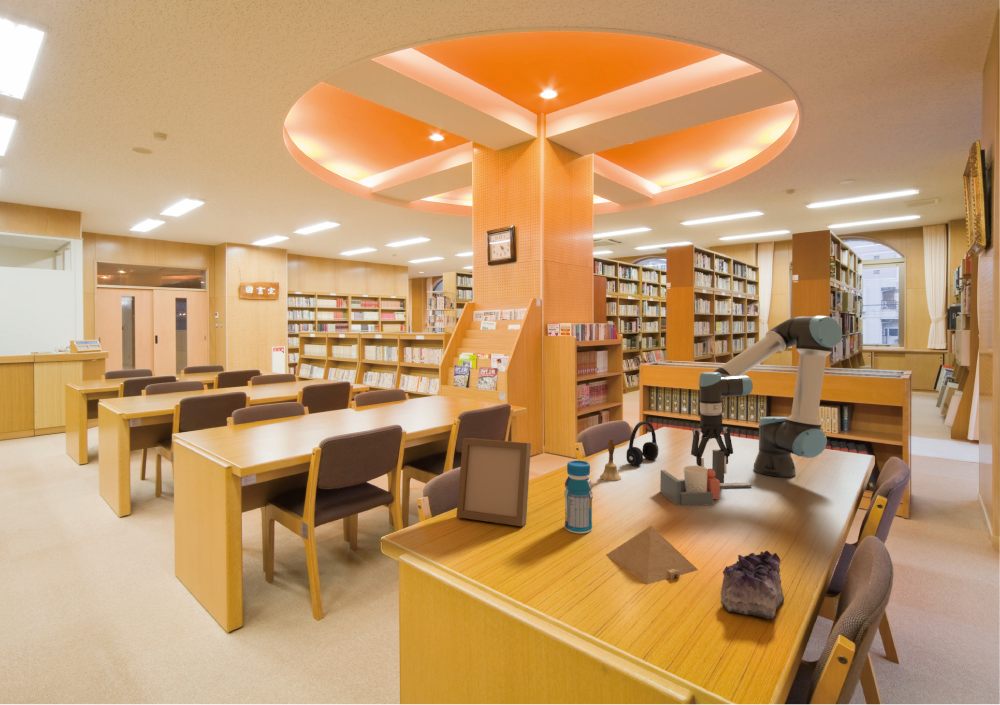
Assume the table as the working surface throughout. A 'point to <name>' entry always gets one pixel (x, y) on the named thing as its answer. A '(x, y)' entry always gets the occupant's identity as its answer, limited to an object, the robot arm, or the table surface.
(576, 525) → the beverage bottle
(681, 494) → the frame
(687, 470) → the white cup
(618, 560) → the model pyramid
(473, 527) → the table surface
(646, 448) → the headphones
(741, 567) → the geode
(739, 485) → the rail
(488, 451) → the photo frame
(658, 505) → the table surface
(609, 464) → the hand bell
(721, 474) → the striker slider
